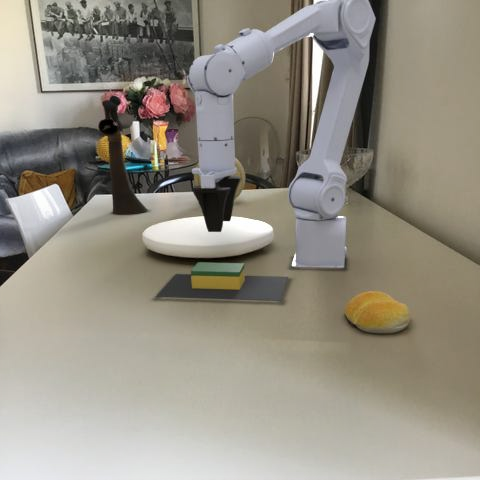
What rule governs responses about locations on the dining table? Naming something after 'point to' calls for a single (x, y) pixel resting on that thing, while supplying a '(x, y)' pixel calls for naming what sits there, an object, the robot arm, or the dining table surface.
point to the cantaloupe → (239, 173)
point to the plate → (207, 237)
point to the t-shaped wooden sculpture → (118, 158)
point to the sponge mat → (250, 289)
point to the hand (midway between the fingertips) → (219, 226)
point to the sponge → (218, 275)
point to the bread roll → (377, 313)
